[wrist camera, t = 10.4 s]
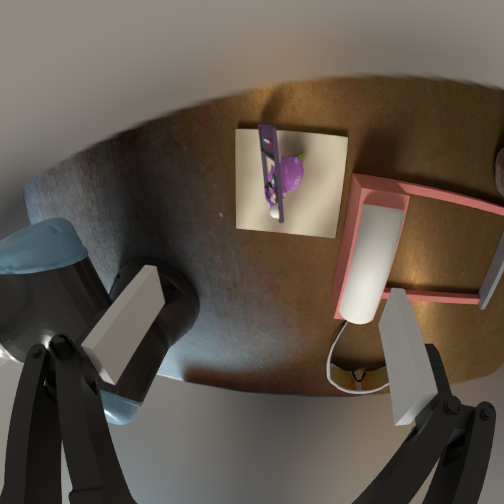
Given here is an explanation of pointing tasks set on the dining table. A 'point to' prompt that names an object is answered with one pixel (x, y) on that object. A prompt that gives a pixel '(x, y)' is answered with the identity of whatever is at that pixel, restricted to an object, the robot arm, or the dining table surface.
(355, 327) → the dining table surface
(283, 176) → the purple toy
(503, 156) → the brown stone cylinder
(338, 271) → the frame
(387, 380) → the sunglasses
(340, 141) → the plate
